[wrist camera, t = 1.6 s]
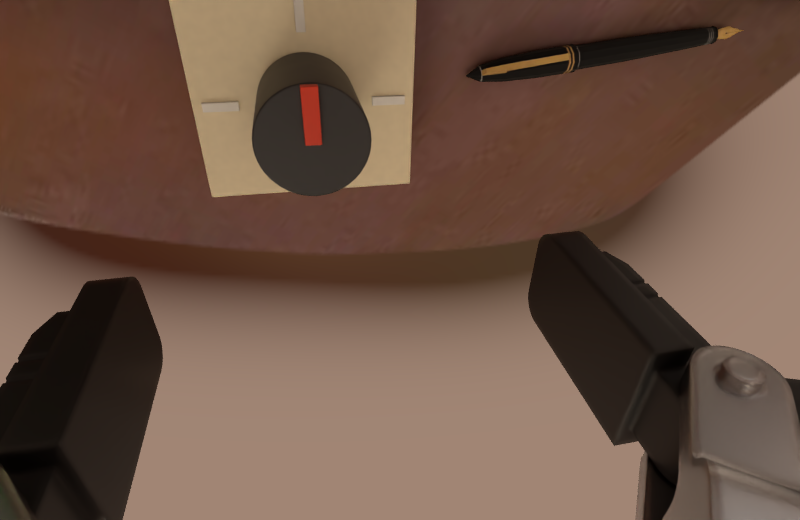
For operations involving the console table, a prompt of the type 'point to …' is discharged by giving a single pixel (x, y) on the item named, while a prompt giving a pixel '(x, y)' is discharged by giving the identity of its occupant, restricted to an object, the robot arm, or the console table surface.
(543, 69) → the fountain pen
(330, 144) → the dial
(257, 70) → the dial panel
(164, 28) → the console table surface
